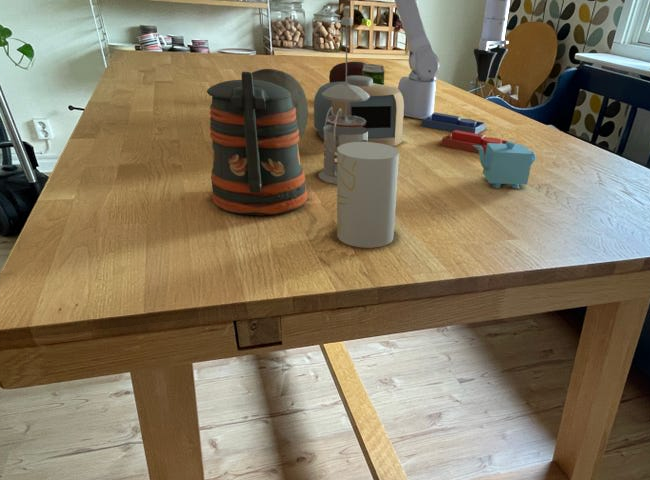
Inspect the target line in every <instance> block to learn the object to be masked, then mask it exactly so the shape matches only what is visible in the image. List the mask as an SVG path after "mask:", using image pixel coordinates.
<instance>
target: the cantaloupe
mask: <svg viewBox="0 0 650 480" xmlns="http://www.w3.org/2000/svg"><path fill="white" fill-rule="evenodd" d="M251 73H252V78H253V80H261V81H266V82H270V83H273V84H276V85H278V86H281V87H283V88H285V89H286V90H288V91H289V92H290V93H291V99H292V105H293V106H294V107H295V109H296V112H295V113H296V120H297V126H298V130H299V133H298V135H299V141H300V140H301V138H302V136H303V135H304V133H305V132H306V129H307V126H308V120H309V105H308V100H307V97H306V96H307V95H306V93H305V90H304V88H303V86H302V85H301V83H300V82H299V81H298V80H297V79H296V78H295V77H294V76H293V75H291V74H289V73H288V72H285V71H282V70H278V69H273V68H262V69H258V70H255V71H252V72H251Z"/></svg>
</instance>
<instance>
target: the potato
mask: <svg viewBox="0 0 650 480" xmlns="http://www.w3.org/2000/svg"><path fill="white" fill-rule="evenodd" d="M365 64H366V62H363V61H347V76H354V75H355V76H362V69H363V67H364V66H363V65H365ZM345 78H346V61H345V62H340V63H338V64H335V65H334V66H332V68H331V69H330V70H329V75H328V80H329V82H328V83H331V82H345Z"/></svg>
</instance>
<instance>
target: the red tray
mask: <svg viewBox="0 0 650 480" xmlns="http://www.w3.org/2000/svg"><path fill="white" fill-rule="evenodd" d="M485 137H486V136H484V138H485ZM451 138H452V132H451V133H449V134H447V135H445V136H443V137H442V138H441V146H442V147H448V148H452V149H457V150H462V151H467V152H468V151H469V152H473V153H478V154H479V152H478V150H477V148H475V147H474V146H472V145H478V146H481V147H482V148H483V150H484V155H485V154H486V148H487V146H484V145H479V144H474V143H468V142H463V141H458V140H453V139H451ZM501 140H502V144H506V142H507V141H508V140H505V139H501Z"/></svg>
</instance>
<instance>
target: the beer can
mask: <svg viewBox="0 0 650 480" xmlns="http://www.w3.org/2000/svg"><path fill="white" fill-rule="evenodd" d="M363 66H364V67H363V69H362V76H366V77H370V78H372V79H373V83H375V84H380V85H385V66H384V65H382V64H374V63H365V65H363Z"/></svg>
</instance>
